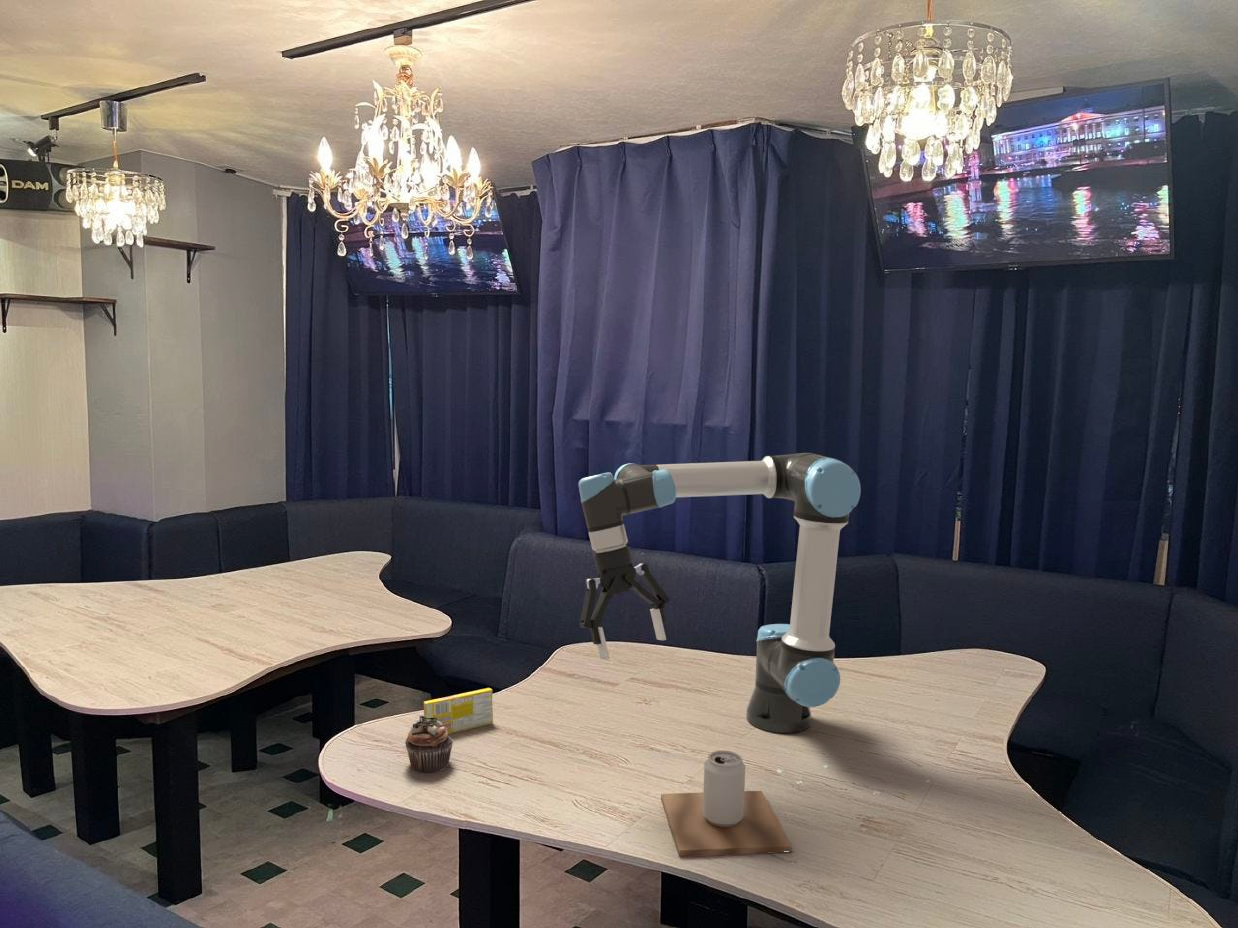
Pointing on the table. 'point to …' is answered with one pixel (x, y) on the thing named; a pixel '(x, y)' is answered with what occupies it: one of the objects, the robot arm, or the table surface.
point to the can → (724, 788)
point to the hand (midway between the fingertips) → (633, 649)
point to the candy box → (462, 710)
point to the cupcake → (428, 745)
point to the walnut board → (708, 839)
